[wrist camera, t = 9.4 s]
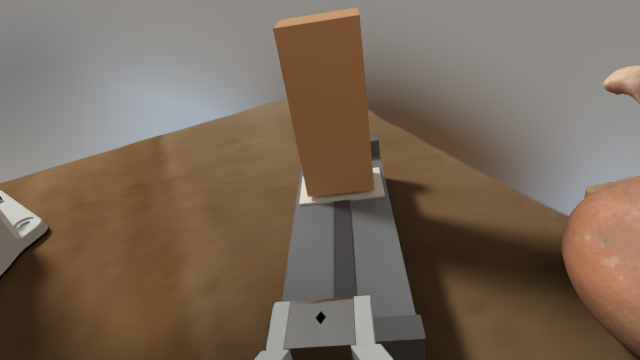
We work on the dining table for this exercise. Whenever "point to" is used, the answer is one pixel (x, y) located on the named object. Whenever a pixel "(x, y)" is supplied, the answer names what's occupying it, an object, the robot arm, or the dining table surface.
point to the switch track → (355, 260)
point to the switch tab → (327, 99)
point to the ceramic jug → (609, 243)
